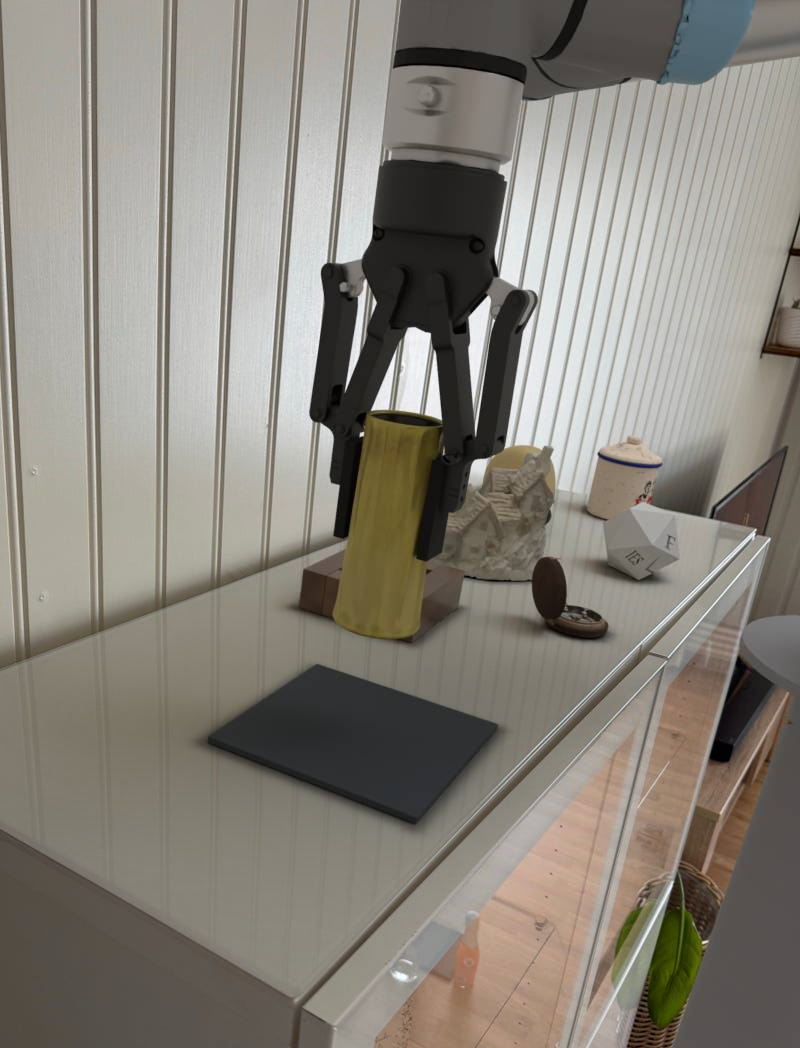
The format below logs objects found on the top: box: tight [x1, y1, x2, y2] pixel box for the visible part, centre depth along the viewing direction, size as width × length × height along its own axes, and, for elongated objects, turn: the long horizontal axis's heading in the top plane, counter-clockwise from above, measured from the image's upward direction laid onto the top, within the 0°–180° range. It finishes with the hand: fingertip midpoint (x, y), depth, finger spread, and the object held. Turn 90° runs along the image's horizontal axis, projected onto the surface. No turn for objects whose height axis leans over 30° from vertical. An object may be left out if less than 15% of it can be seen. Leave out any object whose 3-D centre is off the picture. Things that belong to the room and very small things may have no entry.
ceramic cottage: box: [429, 445, 556, 582], centre depth 111 cm, size 16×16×15 cm
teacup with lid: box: [586, 434, 663, 521], centre depth 140 cm, size 12×9×12 cm
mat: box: [206, 663, 499, 825], centre depth 71 cm, size 16×16×1 cm
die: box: [602, 502, 681, 581], centre depth 115 cm, size 8×9×10 cm
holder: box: [298, 548, 465, 644], centre depth 95 cm, size 12×12×4 cm
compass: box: [531, 556, 609, 639], centre depth 96 cm, size 8×8×7 cm
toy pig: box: [482, 444, 556, 527], centre depth 129 cm, size 10×12×11 cm
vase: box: [332, 409, 445, 640], centre depth 64 cm, size 6×6×14 cm
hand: (387, 543), depth 65 cm, fingers closed on vase, 5 cm apart
